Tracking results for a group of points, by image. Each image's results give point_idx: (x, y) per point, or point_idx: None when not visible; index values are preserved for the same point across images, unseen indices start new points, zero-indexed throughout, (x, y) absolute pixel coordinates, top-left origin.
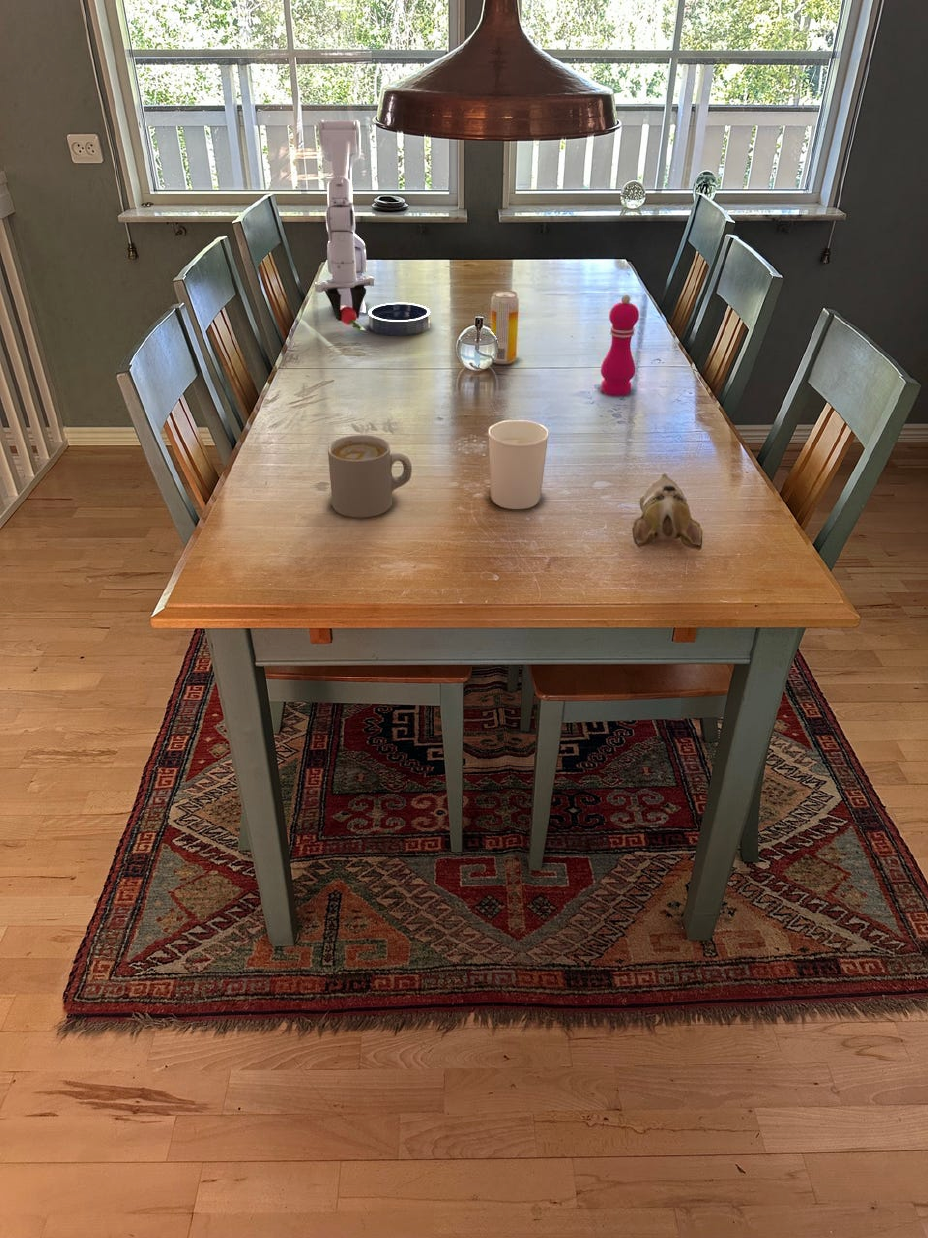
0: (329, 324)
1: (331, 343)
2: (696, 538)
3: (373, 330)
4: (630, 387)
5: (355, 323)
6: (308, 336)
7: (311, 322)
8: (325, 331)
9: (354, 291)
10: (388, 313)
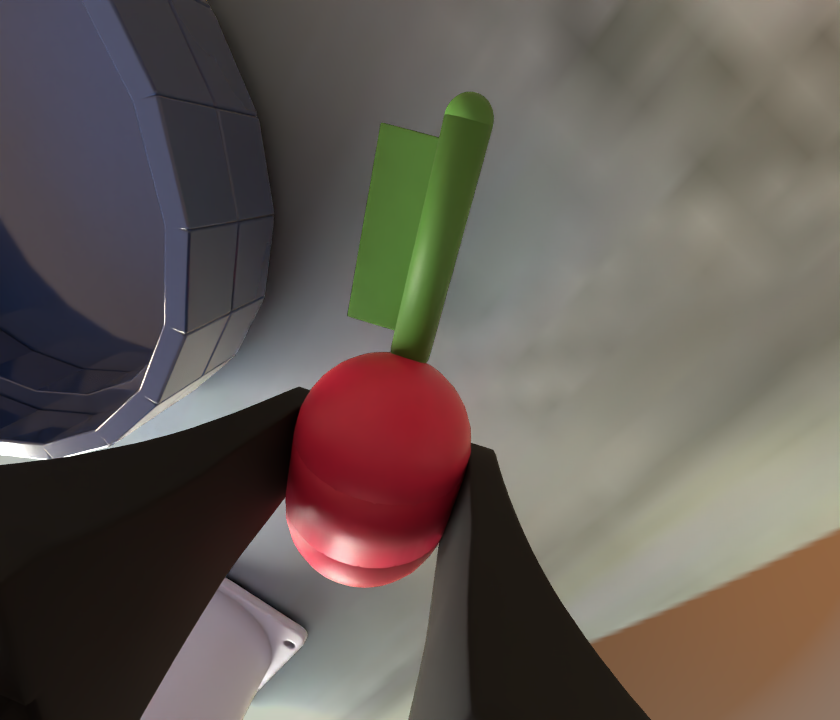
0: (429, 562)
1: (759, 234)
2: None
3: (270, 208)
4: None
5: (453, 214)
6: (730, 503)
7: None
8: (546, 494)
9: (93, 657)
10: (32, 380)
